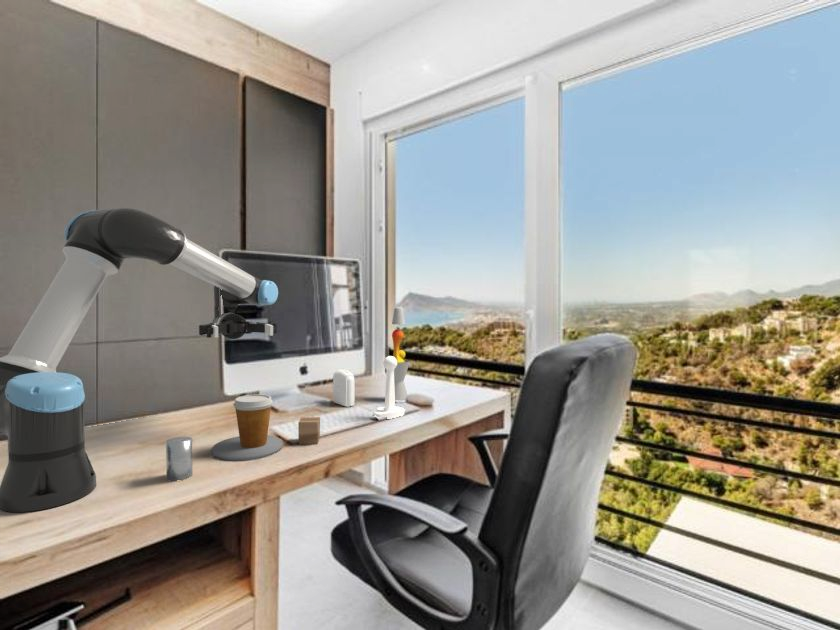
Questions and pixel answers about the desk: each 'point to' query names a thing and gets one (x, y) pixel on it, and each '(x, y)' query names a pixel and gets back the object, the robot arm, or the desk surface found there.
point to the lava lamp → (399, 356)
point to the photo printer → (344, 388)
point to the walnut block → (309, 430)
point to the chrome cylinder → (179, 458)
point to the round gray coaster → (245, 449)
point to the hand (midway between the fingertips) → (245, 331)
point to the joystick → (389, 392)
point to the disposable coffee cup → (253, 419)
